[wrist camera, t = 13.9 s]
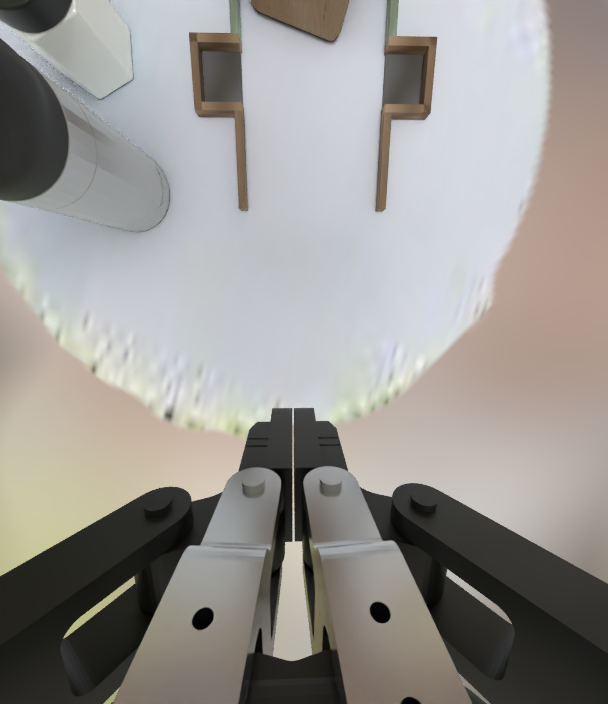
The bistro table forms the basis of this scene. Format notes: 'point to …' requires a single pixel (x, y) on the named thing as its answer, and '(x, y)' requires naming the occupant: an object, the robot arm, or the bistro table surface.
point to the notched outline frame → (397, 90)
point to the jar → (75, 39)
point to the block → (307, 14)
